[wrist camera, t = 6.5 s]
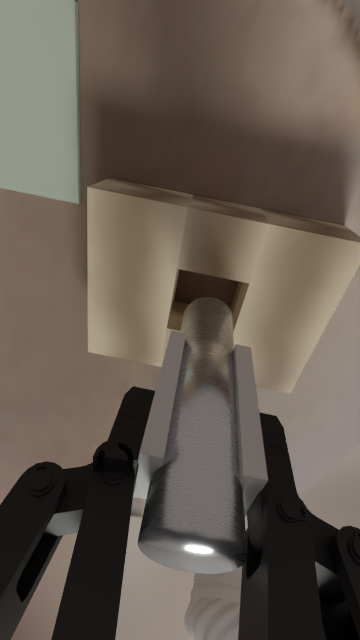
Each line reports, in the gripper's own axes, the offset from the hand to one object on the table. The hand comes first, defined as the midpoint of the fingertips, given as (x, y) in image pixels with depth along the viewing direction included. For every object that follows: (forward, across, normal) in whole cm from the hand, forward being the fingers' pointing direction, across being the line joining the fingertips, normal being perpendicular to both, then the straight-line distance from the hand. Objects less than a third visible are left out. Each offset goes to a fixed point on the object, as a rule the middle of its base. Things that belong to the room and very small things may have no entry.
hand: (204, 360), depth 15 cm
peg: (+4, 0, 0) cm, 4 cm away
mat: (+9, +15, -9) cm, 20 cm away
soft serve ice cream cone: (+10, -10, +36) cm, 39 cm away
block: (+9, 0, 0) cm, 9 cm away
